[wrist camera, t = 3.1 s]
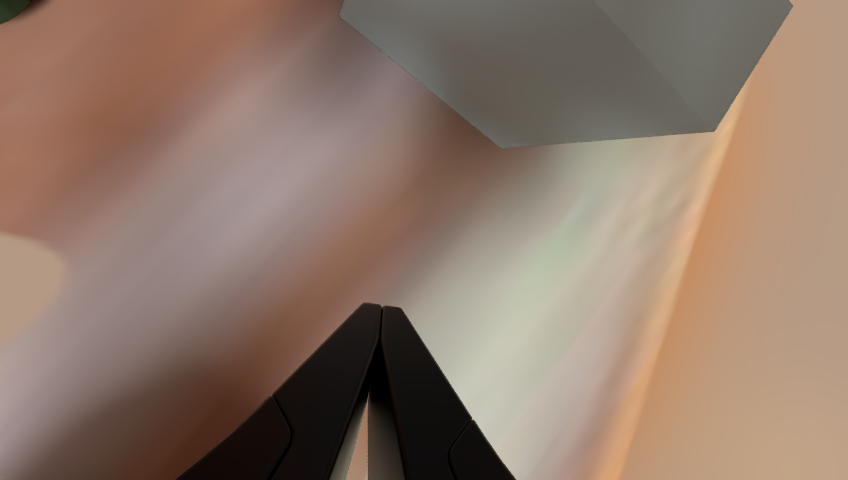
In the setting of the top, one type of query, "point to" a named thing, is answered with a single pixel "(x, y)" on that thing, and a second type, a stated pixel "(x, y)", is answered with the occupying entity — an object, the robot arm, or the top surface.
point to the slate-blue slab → (575, 61)
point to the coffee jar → (11, 9)
